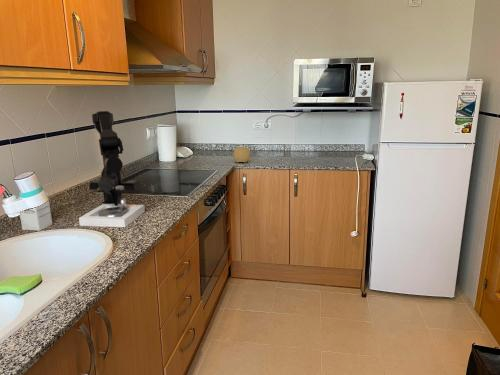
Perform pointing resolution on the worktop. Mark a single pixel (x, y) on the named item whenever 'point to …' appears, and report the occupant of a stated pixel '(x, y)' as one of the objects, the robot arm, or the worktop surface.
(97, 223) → the bezel
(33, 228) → the supplement box
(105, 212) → the dial
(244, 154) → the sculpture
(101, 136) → the robot arm
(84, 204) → the worktop surface
